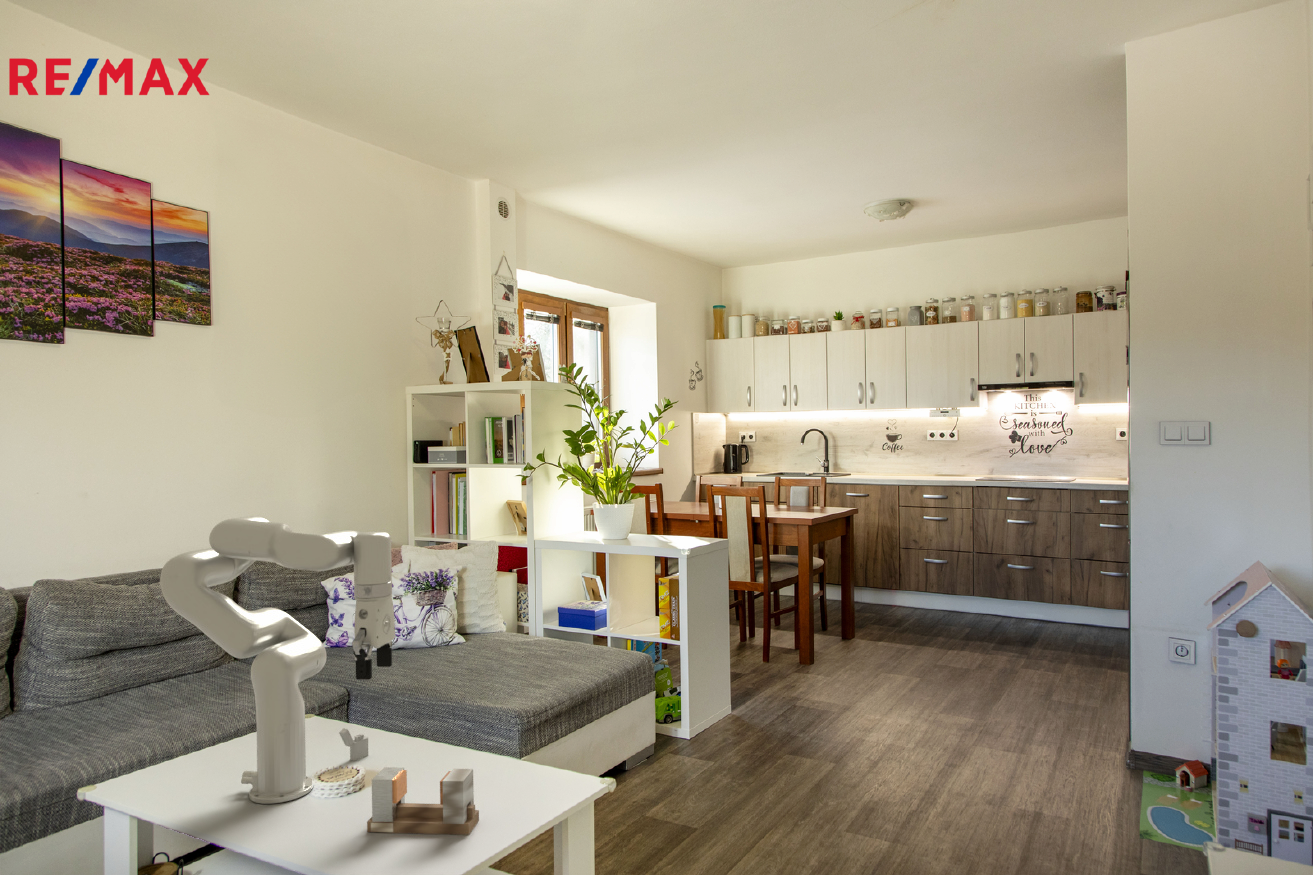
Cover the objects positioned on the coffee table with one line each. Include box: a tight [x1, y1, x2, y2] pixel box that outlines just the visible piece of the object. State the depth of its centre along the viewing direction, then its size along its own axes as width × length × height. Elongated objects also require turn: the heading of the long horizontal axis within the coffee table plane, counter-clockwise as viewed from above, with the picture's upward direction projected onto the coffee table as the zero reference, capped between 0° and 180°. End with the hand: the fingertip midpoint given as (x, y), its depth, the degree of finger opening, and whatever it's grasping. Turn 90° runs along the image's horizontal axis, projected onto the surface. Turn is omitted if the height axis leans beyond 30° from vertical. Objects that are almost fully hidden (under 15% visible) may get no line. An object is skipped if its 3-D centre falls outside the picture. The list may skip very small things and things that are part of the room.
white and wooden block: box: [371, 766, 408, 822], centre depth 160 cm, size 5×6×8 cm
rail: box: [366, 768, 480, 836], centre depth 159 cm, size 20×6×10 cm, turn 84°
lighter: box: [338, 728, 369, 762], centre depth 195 cm, size 7×2×8 cm, turn 149°
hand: (374, 672), depth 173 cm, fingers open, 9 cm apart
